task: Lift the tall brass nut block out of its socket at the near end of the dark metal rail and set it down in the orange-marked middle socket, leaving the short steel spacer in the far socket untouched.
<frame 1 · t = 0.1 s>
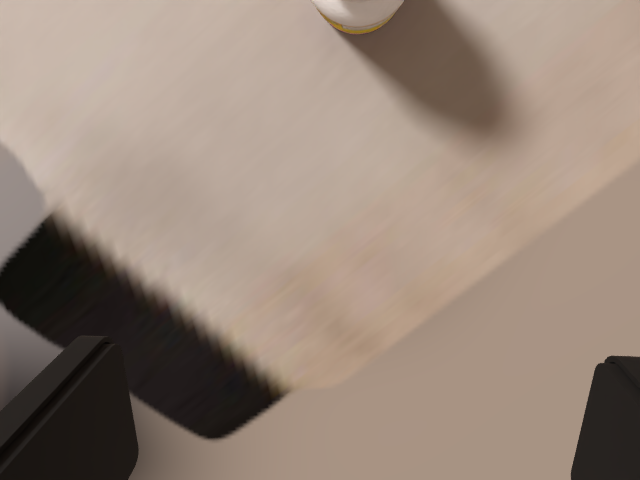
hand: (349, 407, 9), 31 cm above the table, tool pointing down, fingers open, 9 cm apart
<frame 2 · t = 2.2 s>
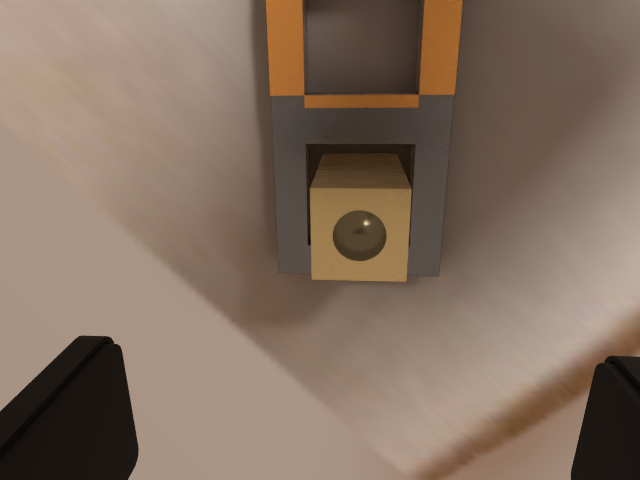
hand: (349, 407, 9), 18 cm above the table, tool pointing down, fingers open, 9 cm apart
rail: (361, 35, 24), on the table
brass nut: (359, 188, 27), resting in rail
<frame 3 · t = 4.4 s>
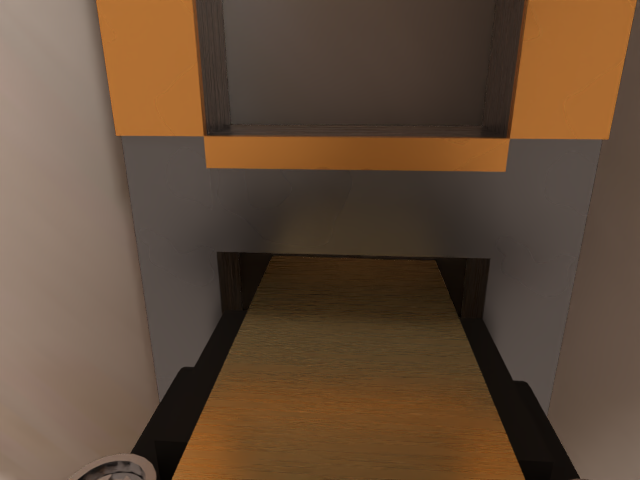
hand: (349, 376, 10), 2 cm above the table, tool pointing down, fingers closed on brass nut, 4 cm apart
brass nut: (350, 329, 12), resting in rail, touching gripper
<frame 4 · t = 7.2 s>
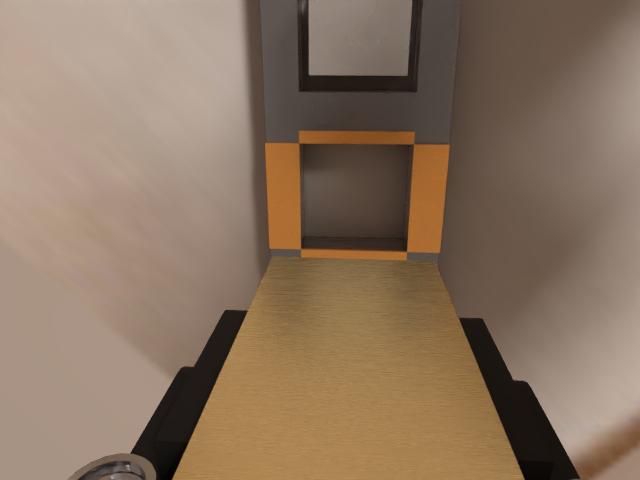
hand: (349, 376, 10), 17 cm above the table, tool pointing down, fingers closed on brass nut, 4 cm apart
steel spacer: (358, 30, 23), resting in rail
rail: (355, 189, 26), on the table
brass nut: (350, 329, 12), point 15 cm above the table, touching gripper
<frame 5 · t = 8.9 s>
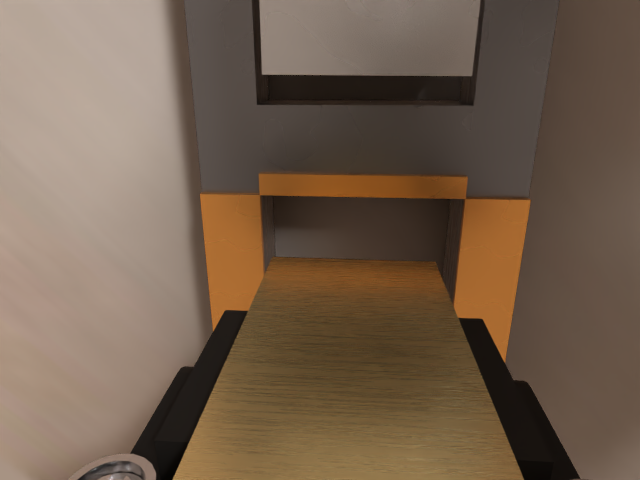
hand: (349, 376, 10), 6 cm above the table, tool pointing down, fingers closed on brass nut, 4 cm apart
rail: (358, 262, 16), on the table
brass nut: (350, 330, 12), point 4 cm above the table, touching gripper
when the fingers open (4 cm above the table, at t = 10.2 s): brass nut drops 2 cm, resting in rail.
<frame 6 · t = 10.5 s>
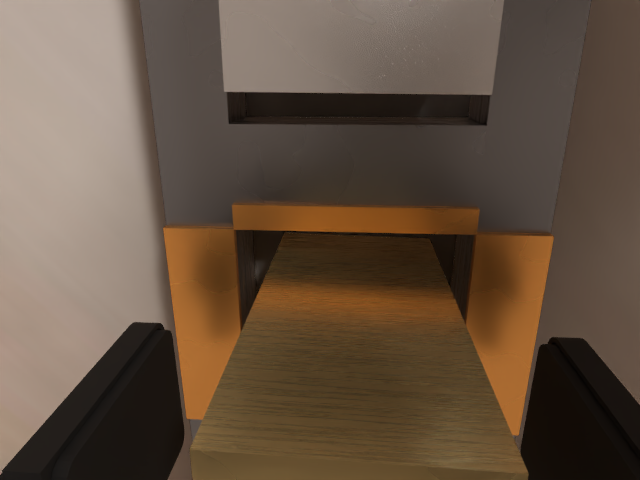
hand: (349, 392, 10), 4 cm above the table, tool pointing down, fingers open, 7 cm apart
rail: (351, 300, 14), on the table
brass nut: (353, 299, 14), resting in rail
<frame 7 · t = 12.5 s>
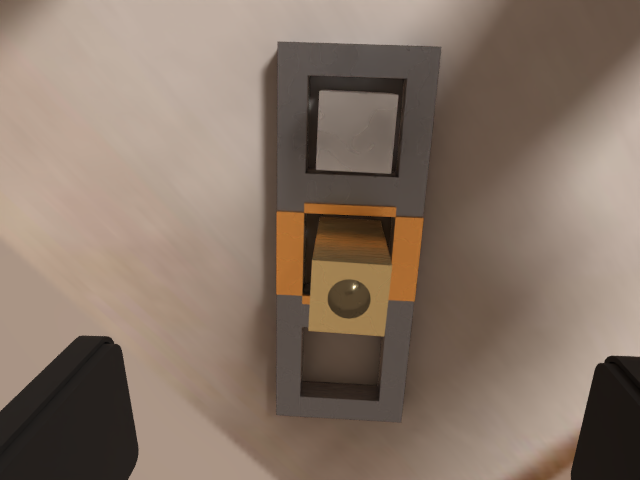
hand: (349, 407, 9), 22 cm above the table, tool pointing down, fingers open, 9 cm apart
steel spacer: (353, 124, 29), resting in rail
rail: (347, 247, 32), on the table
brass nut: (347, 246, 32), resting in rail
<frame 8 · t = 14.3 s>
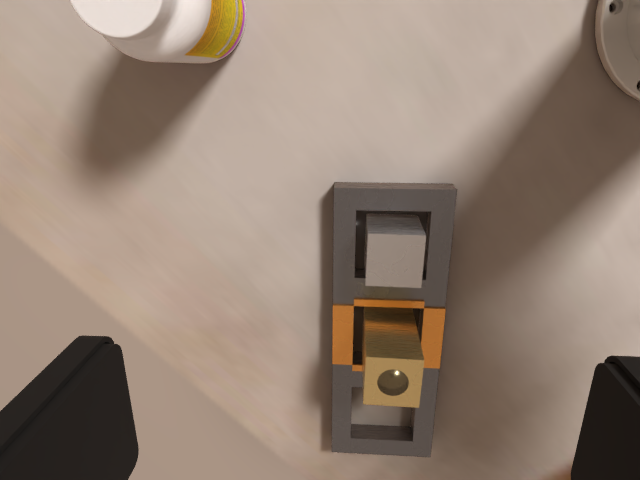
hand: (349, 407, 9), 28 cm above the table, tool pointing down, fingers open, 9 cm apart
steel spacer: (390, 237, 38), resting in rail
rail: (385, 325, 41), on the table
supplement bottle: (202, 13, 33), on the table
brass nut: (386, 324, 41), resting in rail
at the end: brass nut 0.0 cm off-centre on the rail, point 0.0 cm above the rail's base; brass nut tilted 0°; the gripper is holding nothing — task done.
